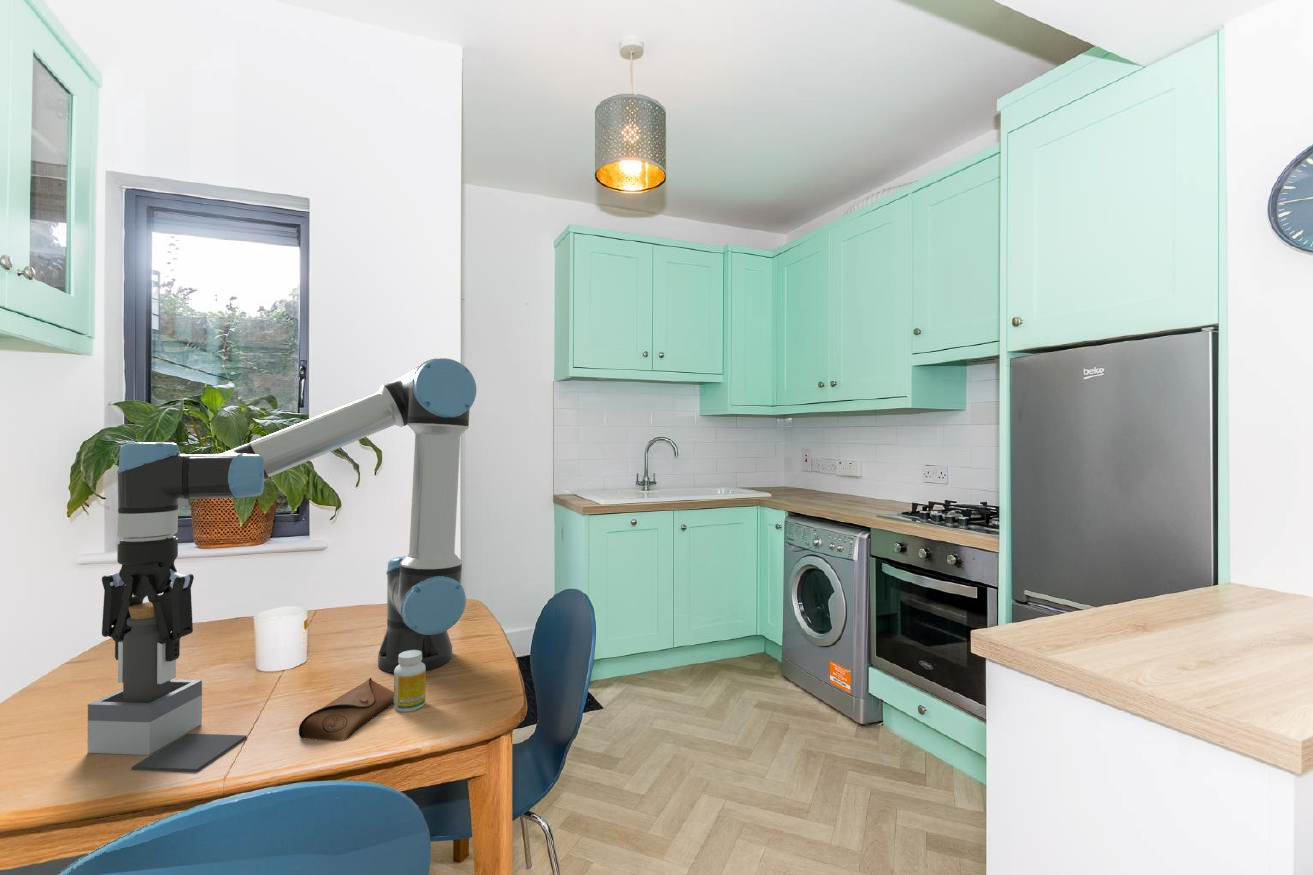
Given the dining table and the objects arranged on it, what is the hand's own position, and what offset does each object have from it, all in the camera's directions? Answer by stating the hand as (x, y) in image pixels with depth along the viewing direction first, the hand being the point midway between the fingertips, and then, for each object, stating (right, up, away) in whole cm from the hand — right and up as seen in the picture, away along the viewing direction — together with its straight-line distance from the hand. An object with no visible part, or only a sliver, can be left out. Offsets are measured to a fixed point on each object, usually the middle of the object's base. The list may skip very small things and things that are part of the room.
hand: (147, 679), depth 98 cm
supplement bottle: (+38, -10, +12) cm, 41 cm away
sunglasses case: (+30, -10, +8) cm, 33 cm away
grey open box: (0, -9, 0) cm, 9 cm away
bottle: (0, -3, 0) cm, 3 cm away
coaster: (+11, -9, -4) cm, 15 cm away
